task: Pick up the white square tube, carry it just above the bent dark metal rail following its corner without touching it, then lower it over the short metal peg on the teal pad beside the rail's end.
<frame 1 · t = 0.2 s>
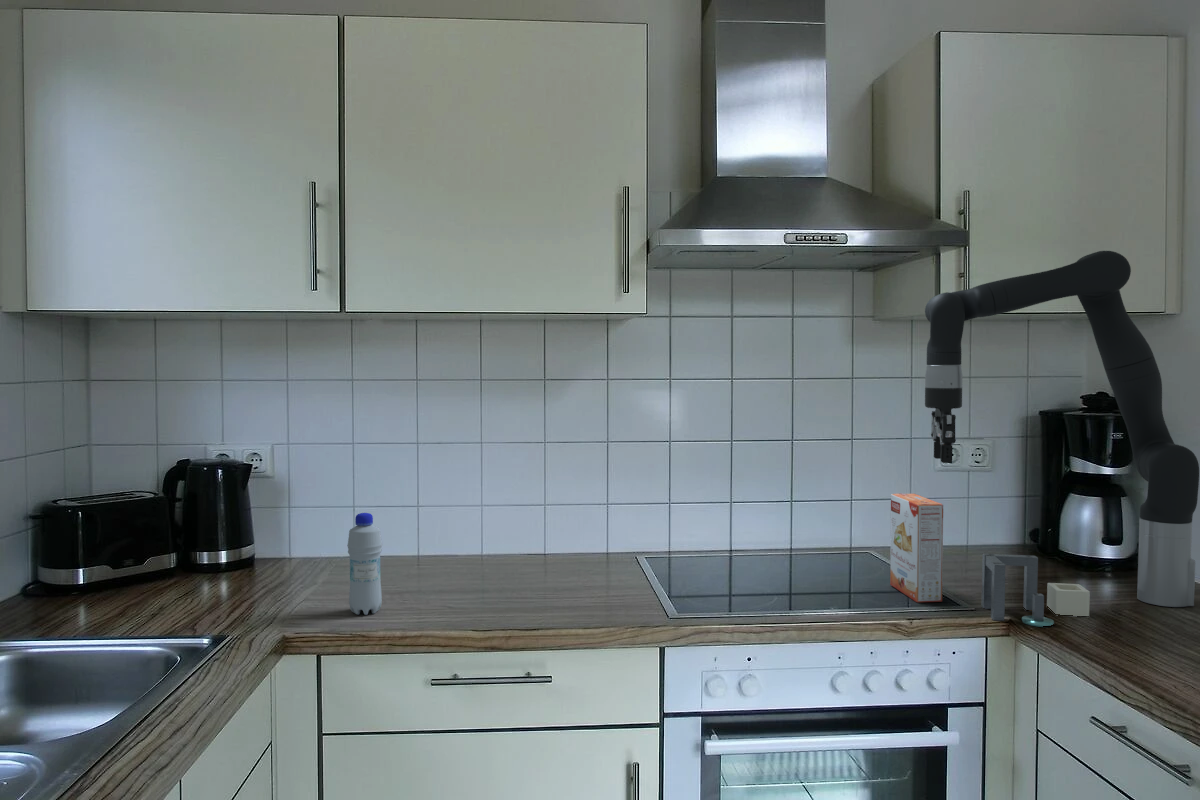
hand: (942, 460, 190), 29 cm above the worktop, tool pointing down, fingers open, 8 cm apart
white square tube: (1067, 611, 175), on the worktop
cracker box: (914, 595, 189), on the worktop
rail: (1030, 609, 177), on the worktop
peg: (1037, 622, 168), on the worktop
bottle: (365, 612, 175), on the worktop
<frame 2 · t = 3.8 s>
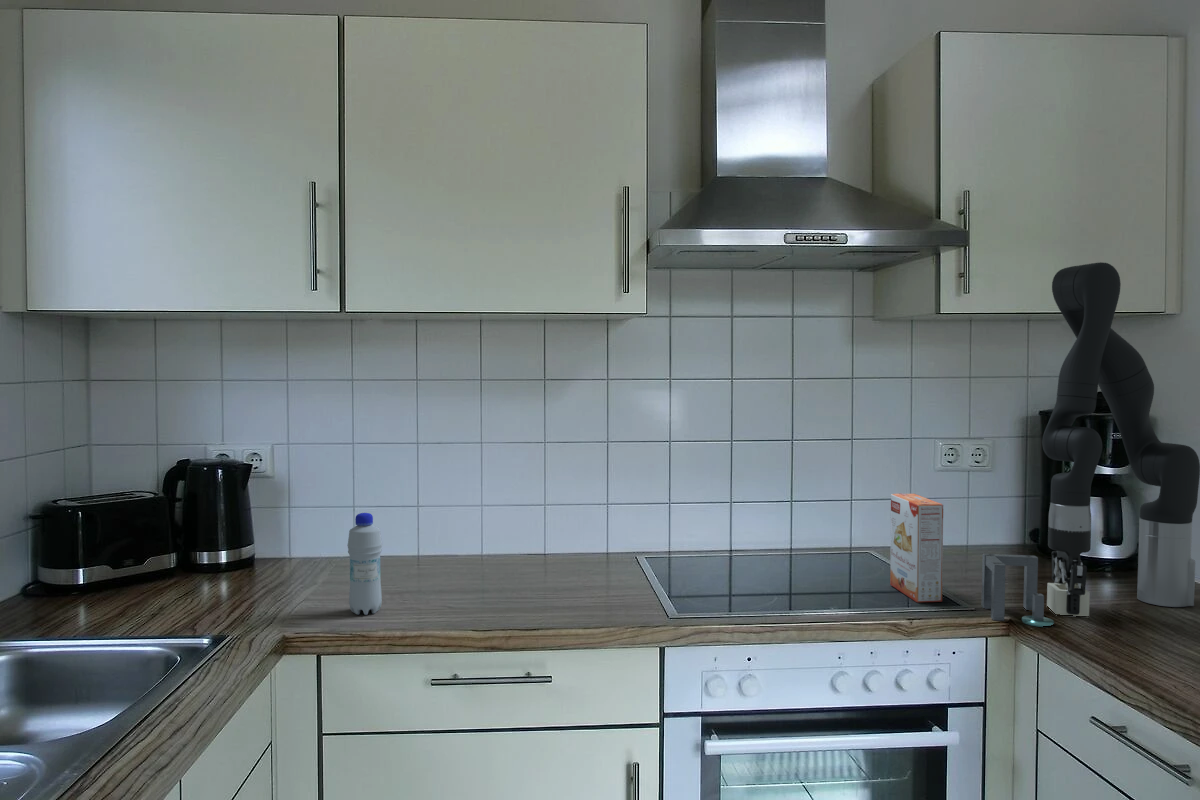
hand: (1067, 608, 175), 1 cm above the worktop, tool pointing down, fingers closed on white square tube, 6 cm apart
white square tube: (1067, 612, 175), on the worktop, touching gripper
everything else where it was.
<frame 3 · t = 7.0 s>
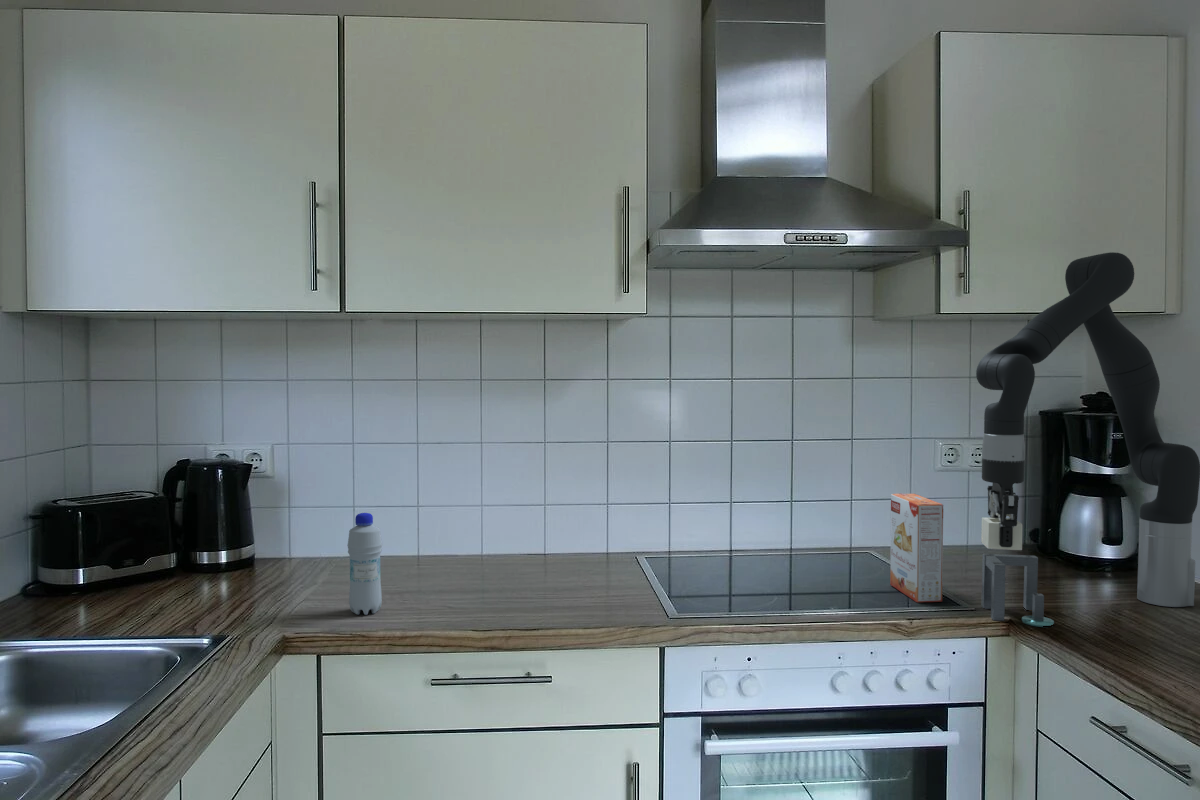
hand: (1001, 542, 170), 15 cm above the worktop, tool pointing down, fingers closed on white square tube, 6 cm apart
white square tube: (1001, 546, 170), point 14 cm above the worktop, touching gripper
everything else where it was.
when the fingers open (3 cm above the worktop, at t = 10.3 s): white square tube drops 2 cm, resting on peg.
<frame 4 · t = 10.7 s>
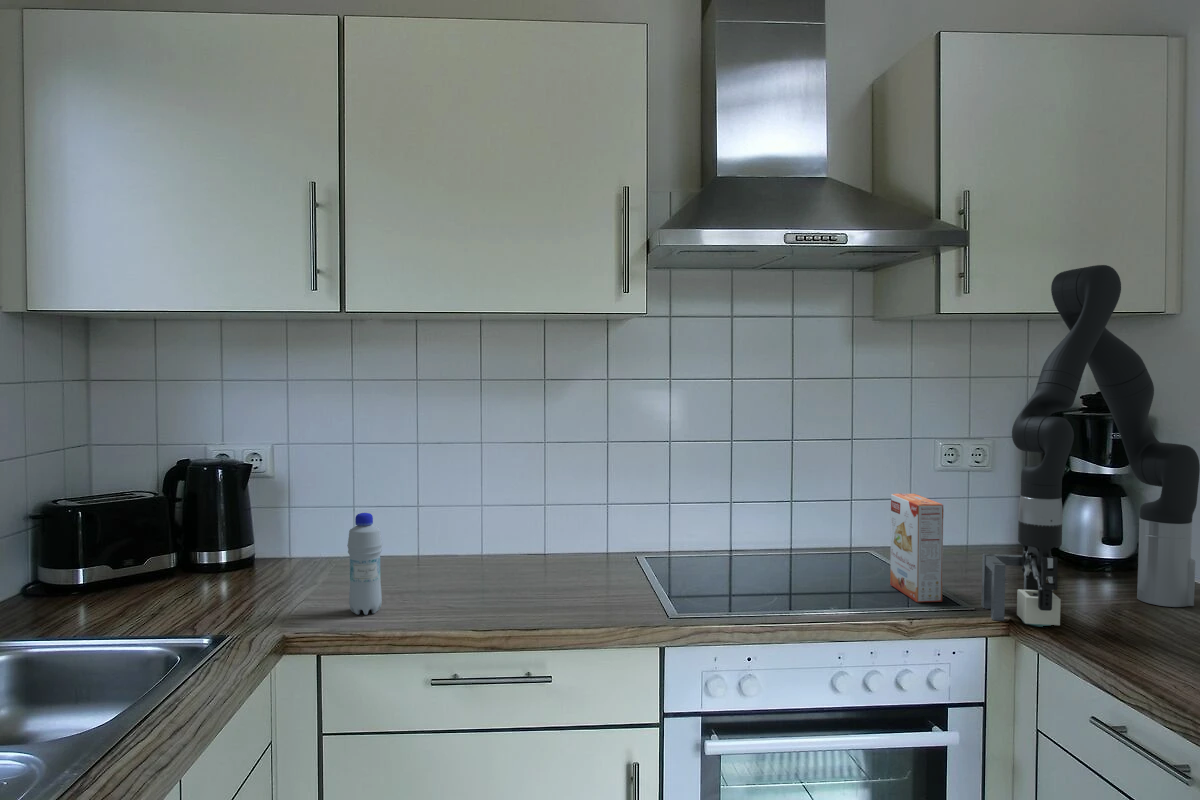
hand: (1038, 603, 168), 4 cm above the worktop, tool pointing down, fingers open, 8 cm apart
white square tube: (1037, 619, 168), point 1 cm above the worktop, touching peg
everything else where it was.
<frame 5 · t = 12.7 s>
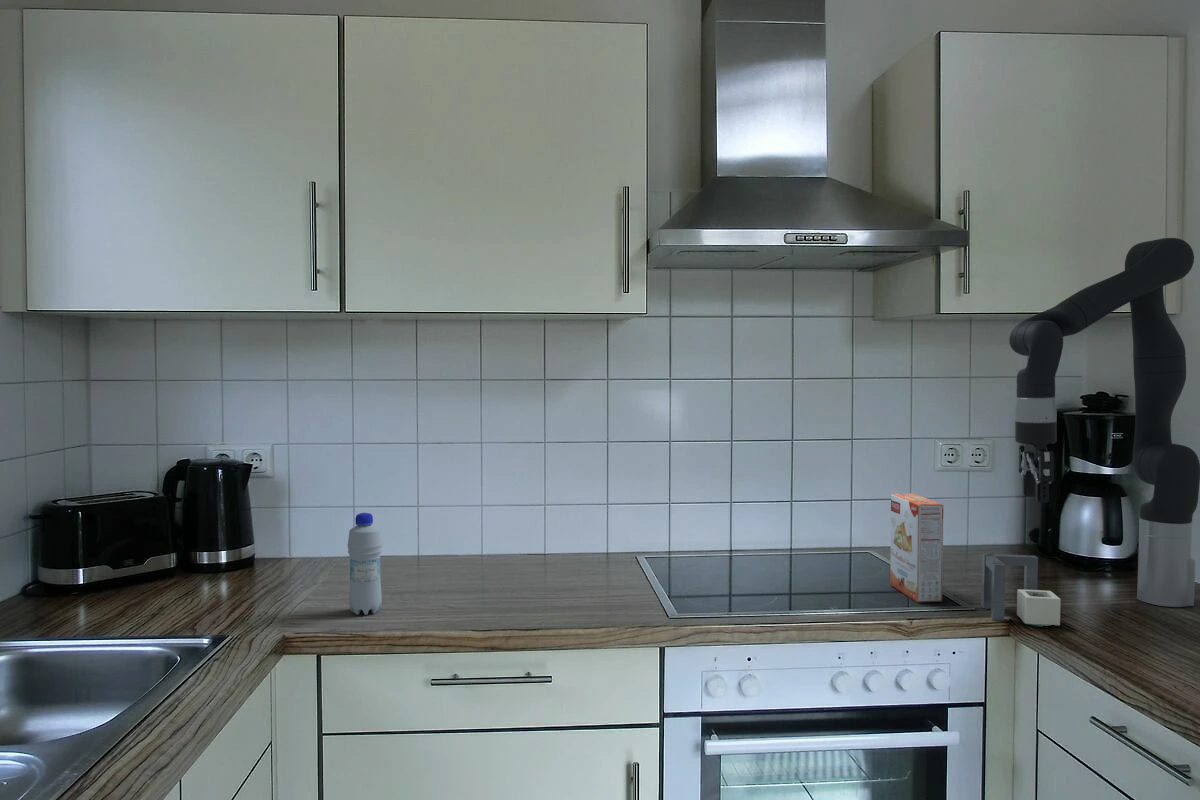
hand: (1035, 499, 178), 22 cm above the worktop, tool pointing down, fingers open, 8 cm apart
nothing on the worktop moved.
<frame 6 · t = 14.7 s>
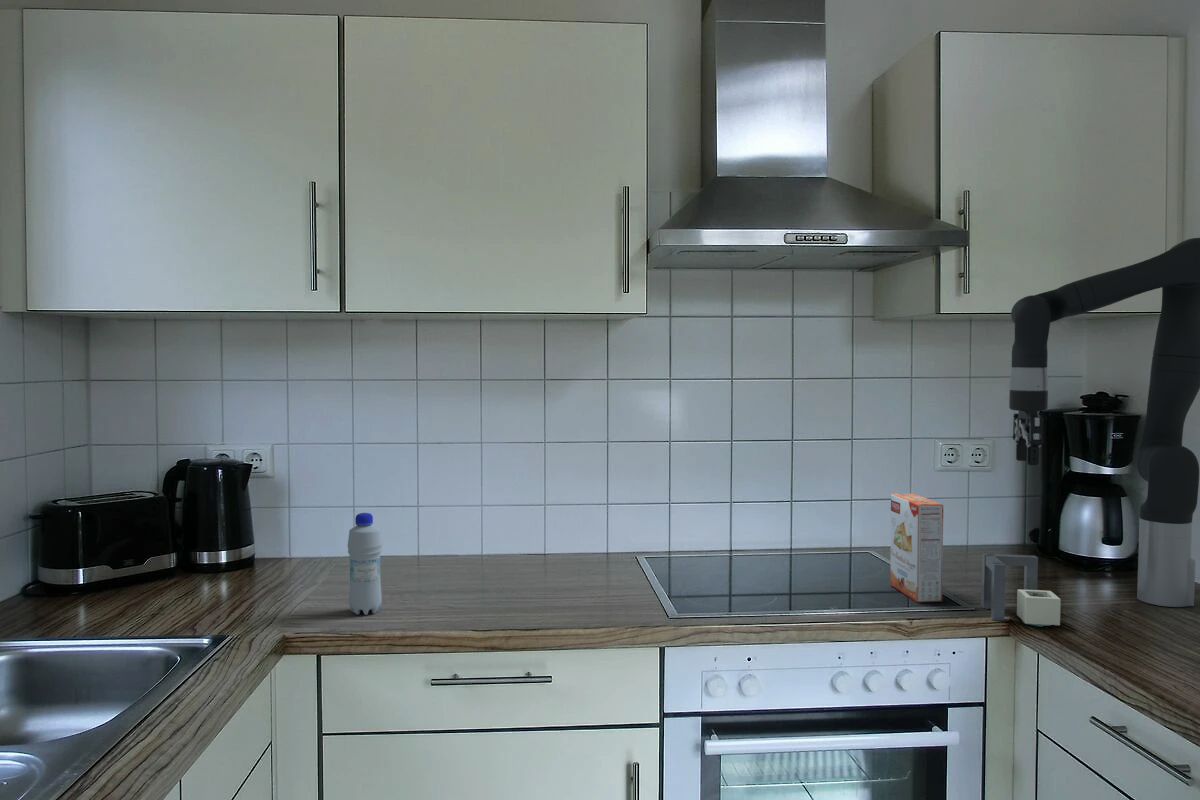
hand: (1026, 462, 190), 28 cm above the worktop, tool pointing down, fingers open, 8 cm apart
nothing on the worktop moved.
at the end: white square tube 0.1 cm off-centre on the peg, point 0.6 cm above the peg's base; white square tube tilted 0°; white square tube touching peg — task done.
